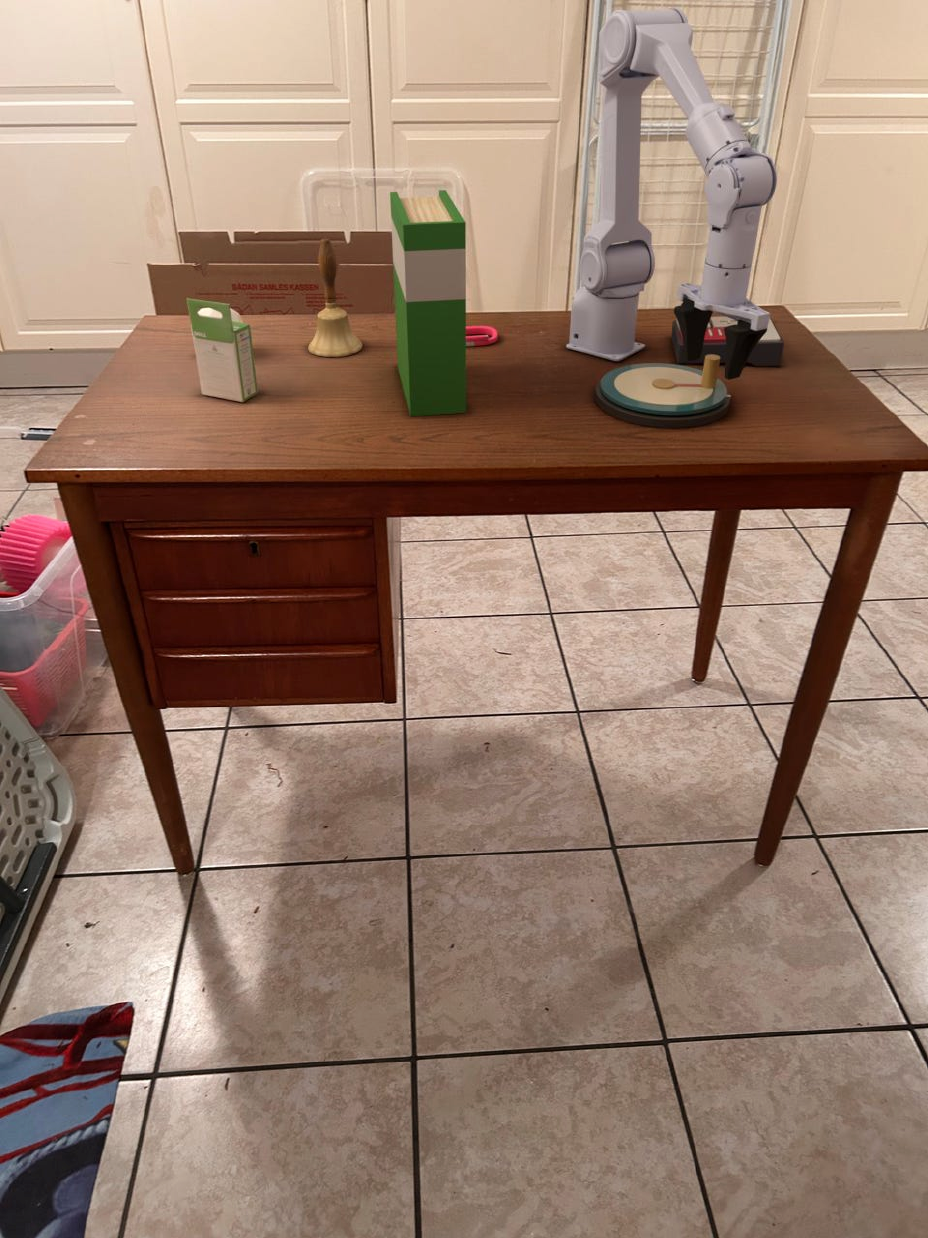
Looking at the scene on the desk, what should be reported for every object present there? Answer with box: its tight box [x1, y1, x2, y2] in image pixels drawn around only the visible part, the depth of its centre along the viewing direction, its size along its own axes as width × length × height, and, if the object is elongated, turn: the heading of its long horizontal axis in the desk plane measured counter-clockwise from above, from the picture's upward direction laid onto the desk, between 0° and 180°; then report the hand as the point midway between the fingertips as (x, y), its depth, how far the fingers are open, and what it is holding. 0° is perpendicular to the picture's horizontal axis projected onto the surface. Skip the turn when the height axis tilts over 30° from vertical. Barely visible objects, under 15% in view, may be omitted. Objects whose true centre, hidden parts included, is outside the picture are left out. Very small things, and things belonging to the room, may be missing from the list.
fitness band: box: [466, 325, 499, 348], centre depth 149 cm, size 8×6×2 cm
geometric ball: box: [198, 307, 244, 323], centre depth 142 cm, size 8×8×8 cm
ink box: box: [186, 297, 259, 403], centre depth 128 cm, size 7×4×13 cm, turn 65°
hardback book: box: [389, 189, 467, 417], centre depth 127 cm, size 18×7×24 cm, turn 9°
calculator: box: [670, 316, 785, 367], centre depth 144 cm, size 11×4×15 cm
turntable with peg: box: [600, 354, 728, 415], centre depth 128 cm, size 17×17×5 cm
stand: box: [594, 380, 732, 429], centre depth 130 cm, size 18×18×1 cm
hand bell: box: [307, 238, 364, 358], centre depth 142 cm, size 8×8×16 cm
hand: (711, 368), depth 127 cm, fingers open, 7 cm apart
